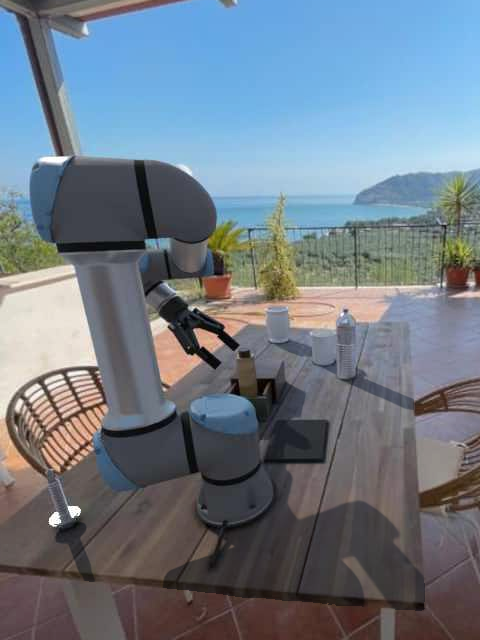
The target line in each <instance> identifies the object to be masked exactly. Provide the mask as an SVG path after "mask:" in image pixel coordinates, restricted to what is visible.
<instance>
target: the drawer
mask: <svg viewBox="0 0 480 640" xmlns="http://www.w3.org/2000/svg"><path fill="white" fill-rule="evenodd" d="M257 388H258V396H252V397H243V398H245V399H247V400H248V401H250V402H251V403H252V405H253V406H254V408H255V413H256V418H257V421H258V420H268V419H269V410H270V408H271V405H272V404H273V403H272V400H273V398H274V389H273V381H257ZM226 394H232V395H237V396H240V388H239V381H235V382H234V384H233V385H232V387H231V386H230V388H229V390H228V392H227V393H226ZM240 397H241V396H240Z"/></svg>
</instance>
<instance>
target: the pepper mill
mask: <svg viewBox="0 0 480 640" xmlns="http://www.w3.org/2000/svg"><path fill="white" fill-rule="evenodd" d="M237 349H238V350H237V351H238V354H237V355H235V362H236V364H235V365H236V370H237V372H238V380H239V388H240V396H241V397H252V396H258V388H257V379H256V369H255V359H256V358H255V354H254V353H252V352H251V348H250V347H239V348H237Z"/></svg>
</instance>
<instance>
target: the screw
mask: <svg viewBox="0 0 480 640" xmlns="http://www.w3.org/2000/svg"><path fill="white" fill-rule="evenodd" d="M44 475H45V477H46V481H47V484H46V486H47V489H48V491H49V494H50V496H51V499H52V502H53V505H54V508H55V511H56V512H54V513H53V514H52V515H51V517H50V518H49V521H48V522H49V525H50V526H51V527H53V528H59V529H61V530H67V529H69V528H72V527H73V526H75V524H76V522H77V519H78V518H79V517H80V515H81V509H80V508H79V507H78V506H69V505H68V501H67V499H66V496H65V493H64V490H63V486H62V484H61V481H60V480H59V478H58V477H57V475H56V473H55V470H54V468H48V469H47V470H45V471H44Z"/></svg>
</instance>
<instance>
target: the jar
mask: <svg viewBox="0 0 480 640" xmlns="http://www.w3.org/2000/svg"><path fill="white" fill-rule="evenodd" d="M289 311H290V307H289V306H287V305H271V306H267V307H265V308H264V313H265V320H264V321H265V326H266V327H265V328H266V330H267V334H268V336H269V342H270V343H273V344H283V343H284V344H285V343H286V342H288V341H289V340H290V338H289V337H288V336H289V334H290V326H291V318H290V314H289Z"/></svg>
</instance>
